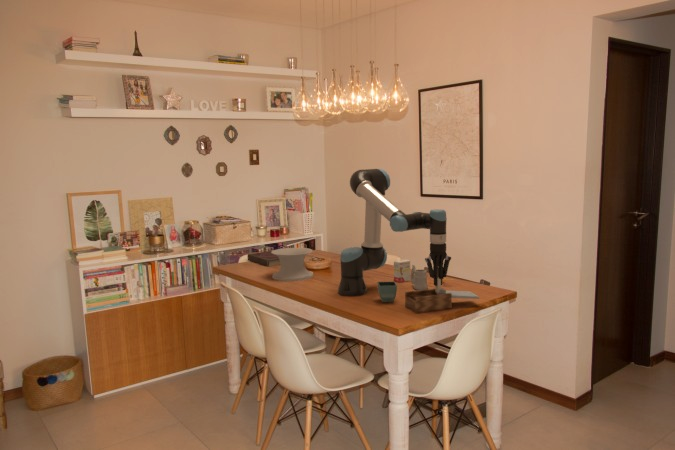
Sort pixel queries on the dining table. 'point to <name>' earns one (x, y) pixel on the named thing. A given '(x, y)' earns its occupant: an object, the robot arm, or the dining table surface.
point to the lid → (460, 294)
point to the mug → (419, 278)
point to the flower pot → (387, 291)
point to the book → (264, 258)
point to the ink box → (401, 270)
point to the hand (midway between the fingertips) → (438, 292)
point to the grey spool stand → (292, 264)
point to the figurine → (445, 279)
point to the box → (427, 301)
